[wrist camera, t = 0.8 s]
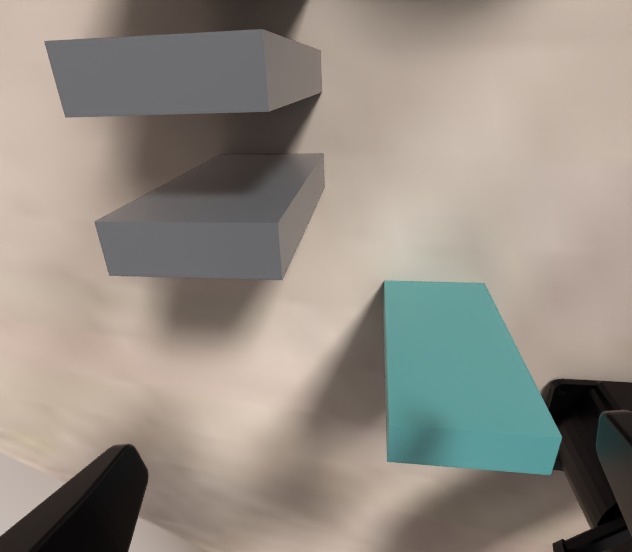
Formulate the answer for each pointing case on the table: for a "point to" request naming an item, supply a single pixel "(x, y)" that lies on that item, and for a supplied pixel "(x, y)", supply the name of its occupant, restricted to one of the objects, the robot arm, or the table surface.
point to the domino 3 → (460, 383)
